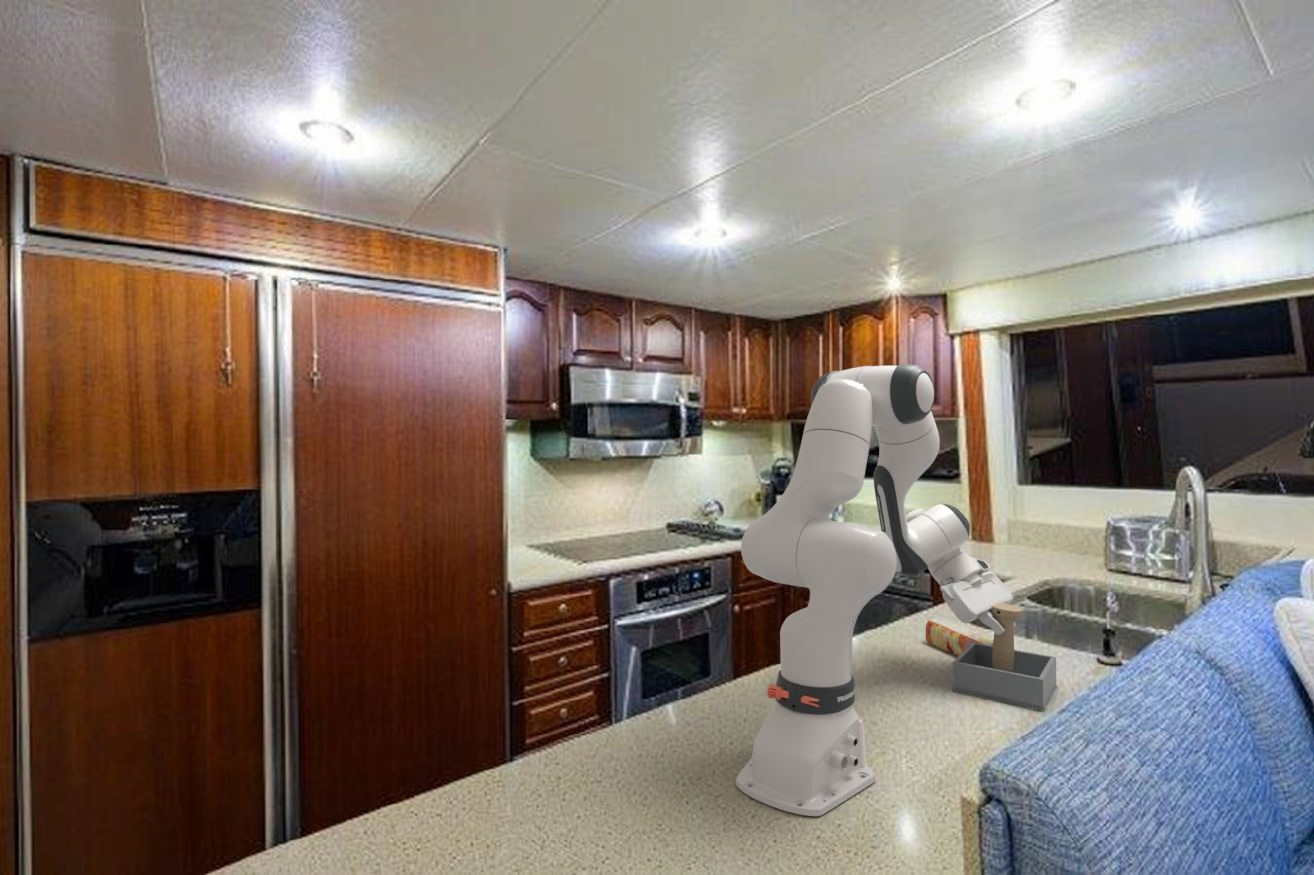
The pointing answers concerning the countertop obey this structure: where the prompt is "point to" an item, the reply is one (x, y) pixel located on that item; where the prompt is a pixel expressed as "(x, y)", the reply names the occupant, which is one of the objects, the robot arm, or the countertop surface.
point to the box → (1005, 677)
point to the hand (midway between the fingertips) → (1007, 630)
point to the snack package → (952, 636)
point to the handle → (1004, 636)
